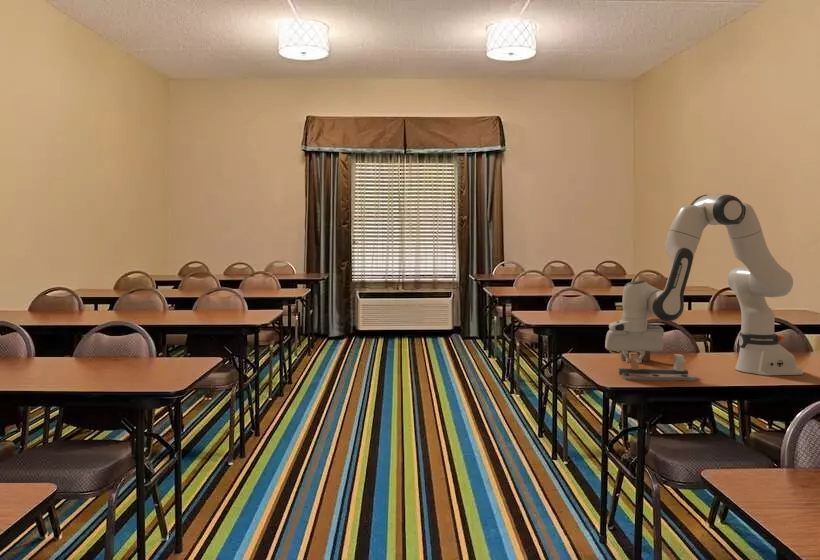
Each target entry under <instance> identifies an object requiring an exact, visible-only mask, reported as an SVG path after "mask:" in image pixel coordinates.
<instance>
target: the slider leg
mask: <svg viewBox="0 0 820 560" xmlns="http://www.w3.org/2000/svg"><path fill="white" fill-rule="evenodd" d="M629 358H631V363H628V369H632V370H638V369H639V364H641V363H640V360H639V355H638V354H637V353H629Z"/></svg>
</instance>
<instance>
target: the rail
mask: <svg viewBox="0 0 820 560" xmlns="http://www.w3.org/2000/svg"><path fill="white" fill-rule="evenodd" d="M686 364H687V360H685V355H683V354H682V353H681V354H680V353H673V367H672V368H667V369H666V368H638V370H632V369H630V368H618V374H619V375H622V373H631V374H688V373H689V370H688V369H685V367H684V366H685V365H686Z"/></svg>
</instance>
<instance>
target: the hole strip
mask: <svg viewBox="0 0 820 560" xmlns="http://www.w3.org/2000/svg"><path fill="white" fill-rule="evenodd" d="M621 375H622V376H621V377H622V378H623V379H624V380H626V379H628V381H630V380H629V379H635V380H634V381H675V380H688V381H687V382H696V378H697V377H695V376H694V375H693V374H691V373H690V374H631V373H622V374H621ZM637 379H638V380H637Z"/></svg>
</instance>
